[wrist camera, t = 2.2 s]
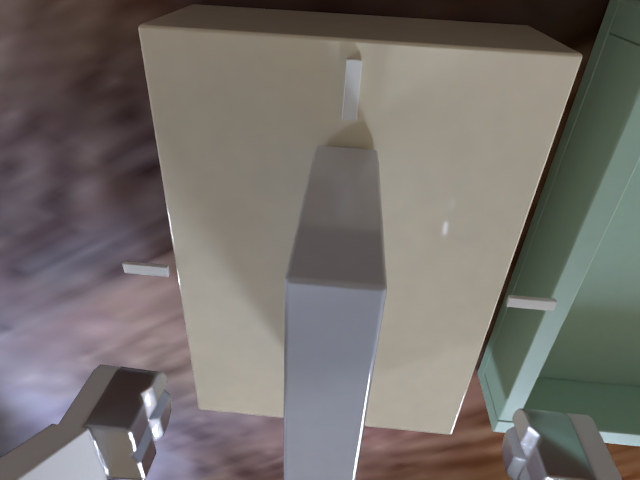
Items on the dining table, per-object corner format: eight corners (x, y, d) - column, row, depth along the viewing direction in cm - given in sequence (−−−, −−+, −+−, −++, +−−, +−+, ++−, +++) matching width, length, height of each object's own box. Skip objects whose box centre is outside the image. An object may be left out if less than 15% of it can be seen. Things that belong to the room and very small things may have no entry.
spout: (315, 143, 12) (280, 288, 7) (378, 148, 11) (388, 298, 7) (305, 379, 17) (280, 559, 12) (349, 383, 16) (343, 566, 12)
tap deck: (139, 0, 14) (63, 20, 10) (586, 28, 13) (664, 60, 10) (190, 333, 22) (157, 409, 18) (473, 360, 21) (494, 443, 18)
